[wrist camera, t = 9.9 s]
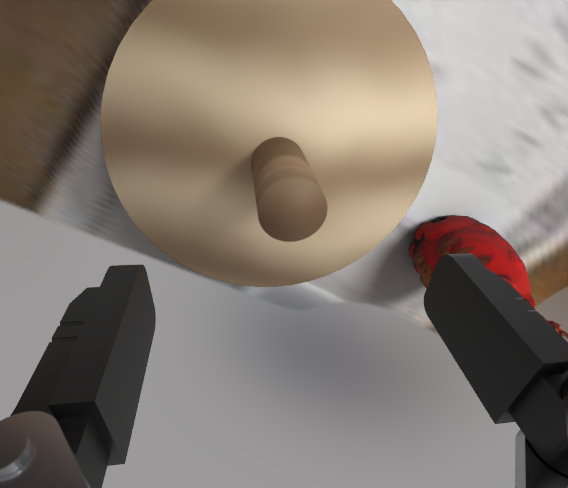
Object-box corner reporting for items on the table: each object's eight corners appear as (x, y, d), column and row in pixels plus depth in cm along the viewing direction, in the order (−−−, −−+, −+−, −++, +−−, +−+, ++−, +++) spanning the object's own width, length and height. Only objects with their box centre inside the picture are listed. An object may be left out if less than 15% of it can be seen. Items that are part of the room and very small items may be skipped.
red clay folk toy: (393, 231, 29) (510, 391, 17) (472, 188, 28) (662, 330, 16) (420, 284, 33) (529, 445, 21) (490, 250, 32) (650, 400, 20)
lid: (52, -60, 13) (-60, -102, 8) (476, -36, 15) (598, -57, 10) (144, 286, 22) (120, 365, 17) (393, 271, 24) (433, 338, 19)
